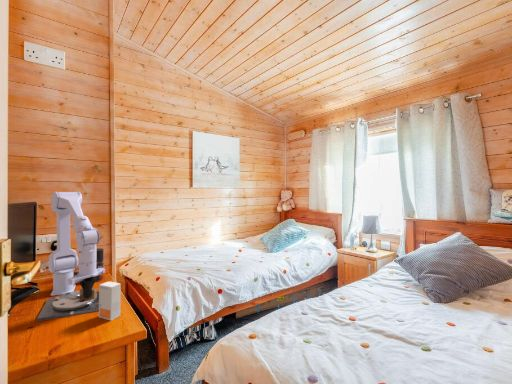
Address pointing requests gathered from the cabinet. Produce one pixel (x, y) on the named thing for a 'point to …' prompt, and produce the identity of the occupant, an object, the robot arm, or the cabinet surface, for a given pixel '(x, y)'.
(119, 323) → the cabinet surface
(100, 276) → the deodorant
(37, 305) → the cabinet surface
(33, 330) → the cabinet surface
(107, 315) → the skincare box
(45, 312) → the base plate
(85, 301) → the flat grey disc
